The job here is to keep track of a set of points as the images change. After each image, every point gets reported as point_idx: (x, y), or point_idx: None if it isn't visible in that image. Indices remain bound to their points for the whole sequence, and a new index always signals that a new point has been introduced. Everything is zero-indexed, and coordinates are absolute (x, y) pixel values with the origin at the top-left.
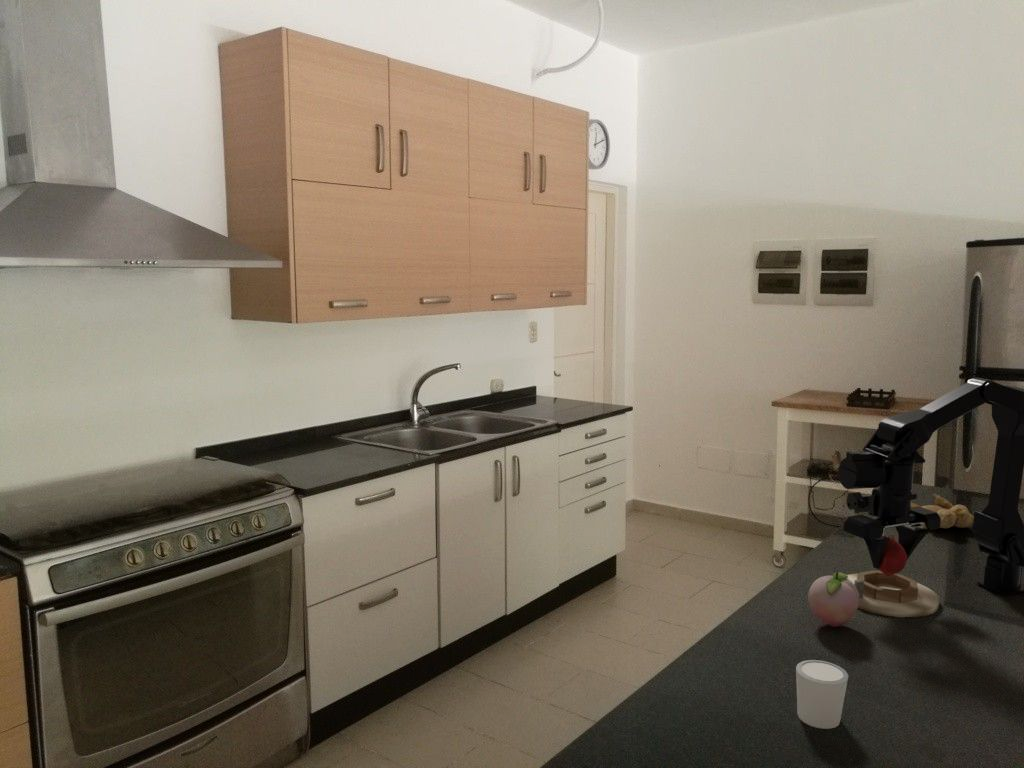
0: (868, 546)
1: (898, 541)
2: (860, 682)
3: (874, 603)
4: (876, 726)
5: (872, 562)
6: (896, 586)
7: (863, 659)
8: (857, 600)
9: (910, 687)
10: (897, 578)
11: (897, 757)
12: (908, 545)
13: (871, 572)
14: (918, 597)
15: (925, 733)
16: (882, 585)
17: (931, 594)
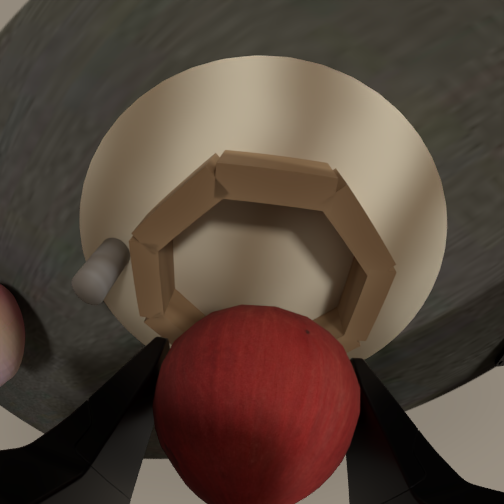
0: (67, 427)
1: (394, 456)
2: (10, 379)
3: (132, 308)
4: (8, 401)
5: (139, 353)
6: (344, 261)
7: (24, 367)
8: (2, 384)
9: (54, 410)
10: (360, 277)
11: (13, 414)
12: (356, 483)
13: (294, 194)
14: None
15: (39, 423)
16: (303, 228)
17: (370, 344)
